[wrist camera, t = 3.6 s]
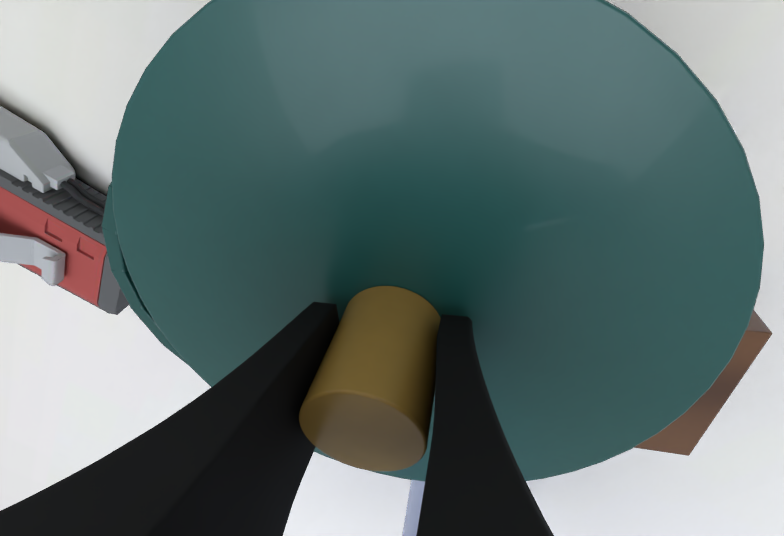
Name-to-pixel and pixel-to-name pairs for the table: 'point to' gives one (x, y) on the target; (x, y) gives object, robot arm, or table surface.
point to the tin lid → (444, 215)
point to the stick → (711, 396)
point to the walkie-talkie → (52, 217)
